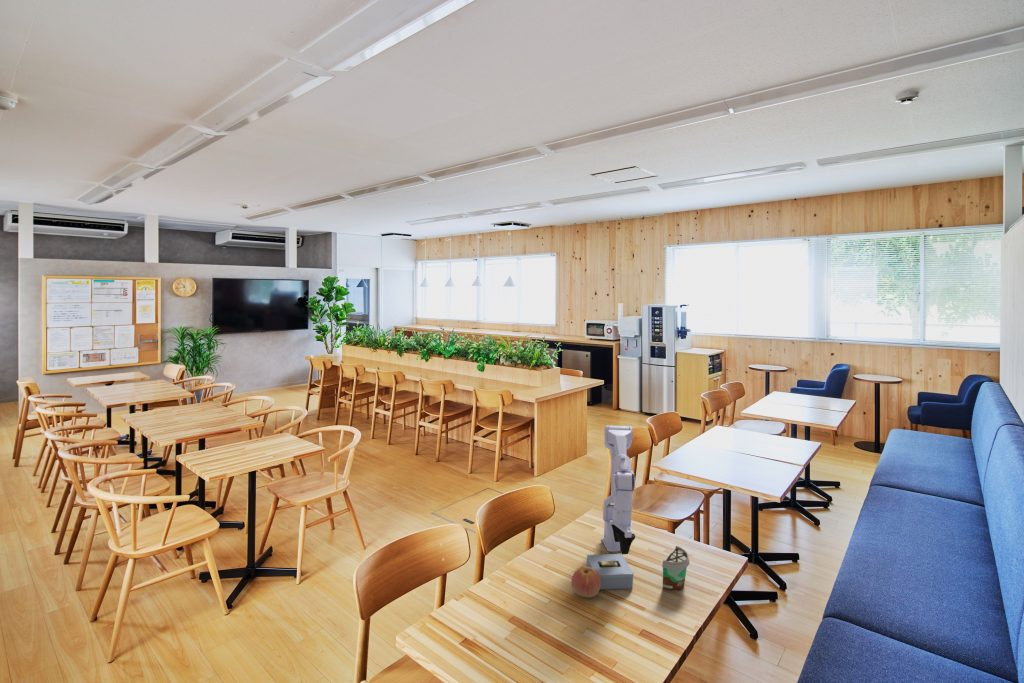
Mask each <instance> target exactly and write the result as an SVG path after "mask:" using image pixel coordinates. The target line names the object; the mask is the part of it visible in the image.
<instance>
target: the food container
mask: <svg viewBox="0 0 1024 683" xmlns="http://www.w3.org/2000/svg"><path fill="white" fill-rule="evenodd" d="M689 564H690V557H689V555H688V552H687V551H686V550H685V549H683V548H682V547H680V546H677V545H675V549H674V550H673V551H672V552H671V553H670V554H669V555H668V557H667V558H666V559H665V560H664V559H663V560H662V565H661V567H662V589H663V590H665V591H671V592H672V591H673V592H677V591H681V590H683V589H684V587H685V581H686V576H687V575H686V574H687V568H688V566H689Z"/></svg>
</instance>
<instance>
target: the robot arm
mask: <svg viewBox="0 0 1024 683" xmlns="http://www.w3.org/2000/svg"><path fill="white" fill-rule="evenodd" d="M633 431H634V430H633V427H632V426H631V425H629V426H628V425H627V426H626V425H611V424H609V425H608V424H606V425H605V426H604V445H605V449H606V448H607V449H608V450H609V452H610V456H611V457H610V458H611V459H610V460H611V461H610V464H611V466H610V468H611V469H610V470H611V471H610V476H611V477H610V479H611V480H610V495H609V496H607V497H606V498H605V499H604V500H603V504H602V505H603V506H602V520H603V522H604V526H603V527H604V528H603V529H604V530H603V537H601V538H600V539H601V541H602V543H603V545H604V548H605V549H606V551H607V552H608V553H611V552H614V553H615V552H616V553H617V552H620V554H622V555H629V552H630V549H631V546H632V543H633V542H634V540H635V539H636V534H635V533H633V532H632V525H633V522H632V513H633V512H632V510H633V509H632V508H633V492H634V491H635V486H636V483H635V482H636V478H635V473H634V470H632V469H633V468H632V463H631V458H630V457H629V455H628V454H627V450H628V449H629V450H630V449H631V446H632V442H633V437H634V432H633Z"/></svg>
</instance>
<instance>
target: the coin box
mask: <svg viewBox="0 0 1024 683" xmlns="http://www.w3.org/2000/svg"><path fill="white" fill-rule="evenodd" d="M604 561H616V562H617V564H618V566H617V567H603V568H601V562H604ZM586 567H591V568H593V569H595V570H596V571H597V572H598V573H599V575H600V579H601V586H600V589H599V591H611V590H614V591H617V590H633V585H634V584H633V583H634V573H633V571H632V569H631V568H630V565H629V564H628V562H627V560H626V558H625V556H624V554H621V553H609V554H605V553H604V554H587V555H586Z"/></svg>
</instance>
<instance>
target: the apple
mask: <svg viewBox="0 0 1024 683" xmlns="http://www.w3.org/2000/svg"><path fill="white" fill-rule="evenodd" d="M571 586H572V590H573V591H574V592H575V594H577V595H578V596H580V597H583V598H588V599H589V598H594V597H596V596H597V595H598V593H599V591H600V590H599V589H600V586H601V579H600V575H599V573H598V572H597V571H596V570H595V569H593V568H591V567H587V566H580V567H579V568H577V569H576V570H575V571H574V572H573V574H572V576H571Z"/></svg>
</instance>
